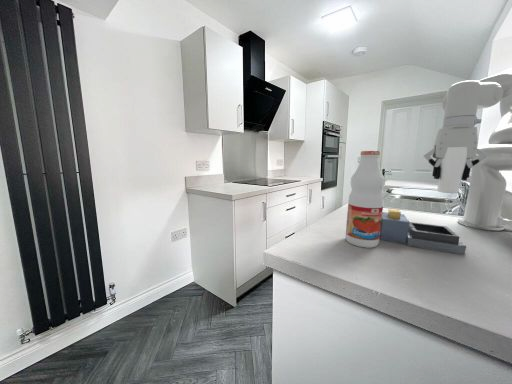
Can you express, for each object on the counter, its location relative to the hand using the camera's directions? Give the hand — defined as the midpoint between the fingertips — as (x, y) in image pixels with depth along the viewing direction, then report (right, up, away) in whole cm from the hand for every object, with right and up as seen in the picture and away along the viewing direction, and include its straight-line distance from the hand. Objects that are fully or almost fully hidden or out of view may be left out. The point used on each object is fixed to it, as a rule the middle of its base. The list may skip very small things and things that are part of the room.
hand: (449, 178), depth 71 cm
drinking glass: (0, -5, +1) cm, 5 cm away
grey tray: (-15, -20, -2) cm, 25 cm away
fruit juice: (-32, -20, -5) cm, 38 cm away
